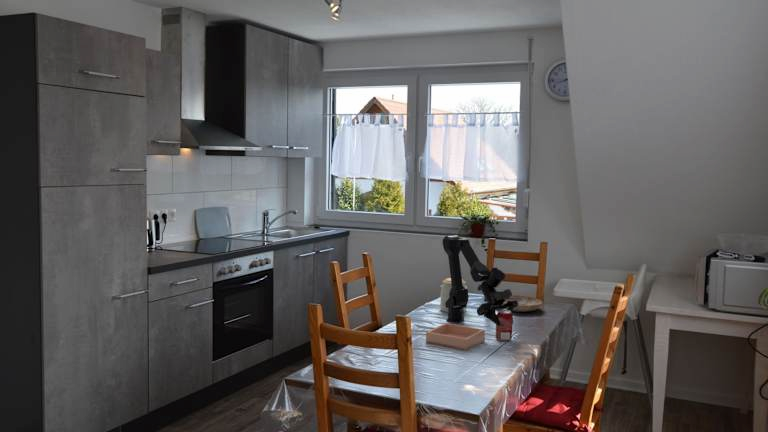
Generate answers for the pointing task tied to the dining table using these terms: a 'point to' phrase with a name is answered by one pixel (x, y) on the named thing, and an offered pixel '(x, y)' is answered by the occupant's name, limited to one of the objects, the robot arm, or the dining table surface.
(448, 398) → the dining table surface
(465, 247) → the robot arm
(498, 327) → the soda can
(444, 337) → the terracotta tray
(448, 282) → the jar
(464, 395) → the dining table surface
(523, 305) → the ceramic bowl
